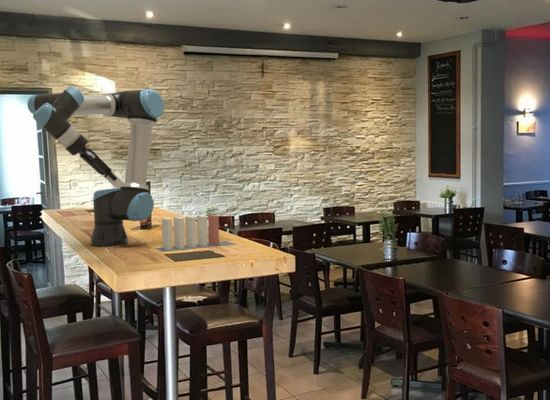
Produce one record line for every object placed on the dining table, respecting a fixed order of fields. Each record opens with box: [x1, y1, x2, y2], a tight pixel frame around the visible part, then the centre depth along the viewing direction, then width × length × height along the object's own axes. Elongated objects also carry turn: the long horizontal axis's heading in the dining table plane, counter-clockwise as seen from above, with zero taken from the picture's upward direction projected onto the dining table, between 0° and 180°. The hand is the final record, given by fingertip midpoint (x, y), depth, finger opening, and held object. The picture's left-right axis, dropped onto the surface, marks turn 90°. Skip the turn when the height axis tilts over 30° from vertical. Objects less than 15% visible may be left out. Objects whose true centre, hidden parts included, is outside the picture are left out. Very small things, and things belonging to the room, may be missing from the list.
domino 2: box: [173, 216, 185, 249], centre depth 242 cm, size 2×6×12 cm, turn 31°
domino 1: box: [161, 217, 173, 250], centre depth 240 cm, size 2×6×12 cm, turn 31°
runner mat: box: [153, 240, 237, 253], centre depth 246 cm, size 10×32×1 cm, turn 121°
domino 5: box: [207, 214, 220, 246], centre depth 250 cm, size 2×6×12 cm, turn 32°
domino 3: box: [184, 215, 197, 248], centre depth 245 cm, size 2×6×12 cm, turn 31°
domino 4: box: [196, 214, 209, 247], centre depth 247 cm, size 2×6×12 cm, turn 32°
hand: (119, 185), depth 229 cm, fingers open, 3 cm apart
